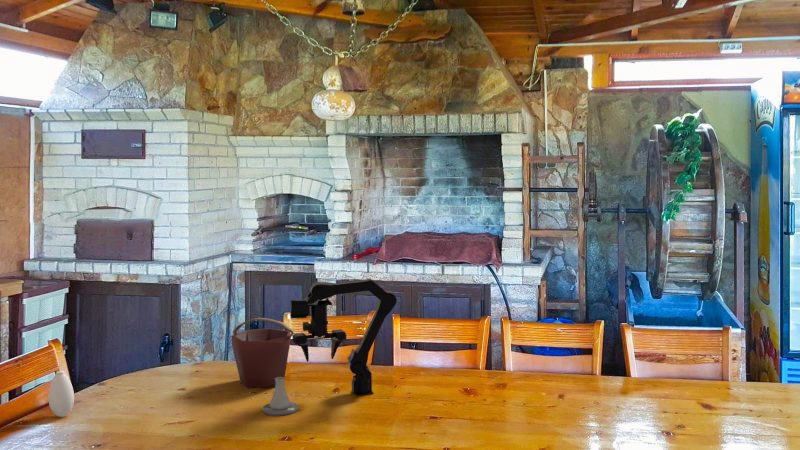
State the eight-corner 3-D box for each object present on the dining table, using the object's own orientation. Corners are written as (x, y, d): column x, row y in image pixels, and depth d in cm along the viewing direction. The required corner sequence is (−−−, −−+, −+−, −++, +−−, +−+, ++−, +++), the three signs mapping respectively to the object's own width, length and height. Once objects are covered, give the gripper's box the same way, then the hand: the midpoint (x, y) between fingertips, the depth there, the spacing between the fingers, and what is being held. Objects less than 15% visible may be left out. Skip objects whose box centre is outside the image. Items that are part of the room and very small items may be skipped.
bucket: (306, 380, 292) (305, 316, 290) (267, 395, 273) (265, 327, 271) (259, 371, 305) (257, 310, 303) (218, 385, 286) (217, 320, 284)
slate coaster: (293, 402, 265) (293, 399, 265) (302, 412, 254) (302, 410, 254) (259, 406, 261) (259, 404, 260) (266, 417, 249) (266, 414, 249)
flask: (279, 411, 252) (279, 382, 251) (265, 407, 257) (264, 378, 256) (295, 406, 258) (294, 377, 257) (280, 402, 262) (280, 374, 261)
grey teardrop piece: (50, 421, 248) (47, 368, 246) (48, 414, 254) (46, 362, 253) (75, 417, 251) (73, 364, 250) (74, 410, 258) (71, 359, 256)
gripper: (337, 311, 281) (338, 352, 283) (288, 315, 274) (289, 357, 276) (346, 317, 271) (347, 359, 272) (295, 321, 264) (296, 365, 265)
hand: (319, 360), depth 272 cm, fingers open, 9 cm apart
